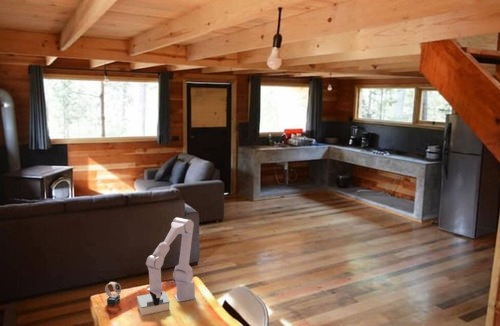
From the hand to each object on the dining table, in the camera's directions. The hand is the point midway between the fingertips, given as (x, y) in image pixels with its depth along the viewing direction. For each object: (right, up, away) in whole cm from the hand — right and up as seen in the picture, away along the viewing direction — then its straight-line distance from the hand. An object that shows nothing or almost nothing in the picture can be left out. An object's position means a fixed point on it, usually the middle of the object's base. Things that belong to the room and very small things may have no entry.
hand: (156, 305), depth 205 cm
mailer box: (-3, -4, +8) cm, 10 cm away
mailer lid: (-3, 0, +7) cm, 8 cm away
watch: (-25, -3, +13) cm, 29 cm away
